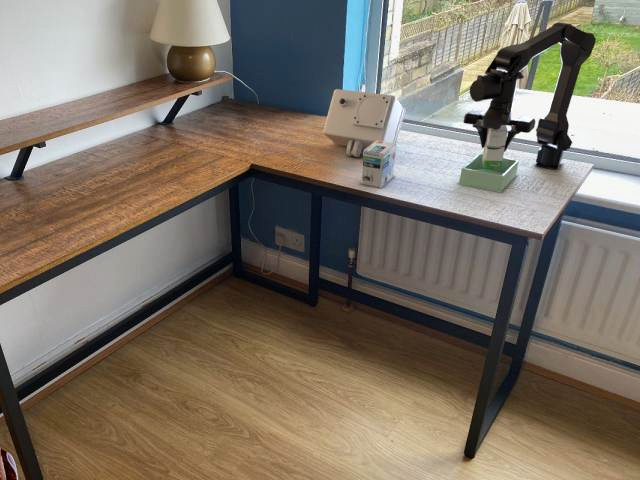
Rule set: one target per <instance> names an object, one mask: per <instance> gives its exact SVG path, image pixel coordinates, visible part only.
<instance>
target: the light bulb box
mask: <svg viewBox="0 0 640 480" xmlns="http://www.w3.org/2000/svg"><path fill="white" fill-rule="evenodd" d="M362 150H363V151H362V152H363V153H362V166H361V169H362V170H361V185H367V186H371V187H376V188H380V189H381V188H383V187H384V186H385V185H386V184H387V183H388V182H389V181H391V180H392V179H393V178H394V176H395V175H394V174H395V163H396V153H397V152H396V151H397V143H396V144H395V143H389V142H383V141H378V140H377V141H375V142H374V143H373V144H371V145H370V146H369V147H367V148H366V149H365V150H364V149H362Z"/></svg>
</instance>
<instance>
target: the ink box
mask: <svg viewBox="0 0 640 480" xmlns="http://www.w3.org/2000/svg"><path fill="white" fill-rule="evenodd" d="M508 131H509V129H508V128H507V125H501V127H500V129H498V130H494V129H492V128H488V129H487V136H486V143H485V146H484V148H483V152H482V154H483V157H482V161H483V166H484V169H494V170H501V165H502V160H503V158H504V153H505V152H504V149H505V143H506V139H507V136H508Z"/></svg>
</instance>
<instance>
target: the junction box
mask: <svg viewBox="0 0 640 480" xmlns="http://www.w3.org/2000/svg"><path fill="white" fill-rule="evenodd" d="M405 114H406V109H405V107H404V106H403V105H402V104H401V103H400V101H399V100H398V98H397V97H396V95H391V94H385V93H384V94H383V93H375V92H374V93H373V92H364V91H357V90H347V89H340V88H336V89H334V91H333V93H332V97H331V101H330V105H329V108H328V111H327V115H326V119H325V123H324V127H323V130H322V133H323V135H324V136H326V137H327V138H328V139H329V140H330V141H332V143H333V144H334V145H335V146H339V147H340V146H341V147H346V155H347V156H348V157H354V158H359V157H360V156H361V155H362V150H365V149H366V148H367V147H369V146H370V145H371V144H373V143H374V142H375V141H377V140H378V141H383V142H389V143H395V144H396V145H397V143H398V140H399V139H398V138H399V135H400V131H401V128H402V125H403V121H404V117H405Z"/></svg>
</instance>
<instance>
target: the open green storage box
mask: <svg viewBox="0 0 640 480" xmlns="http://www.w3.org/2000/svg"><path fill="white" fill-rule="evenodd" d="M482 157H483V153H480V152H479V153H477V155H475V156H474V157H473V158H472V159H470V160H469V161H468V162H467V163H466V164H465V165H463V167H461V169H460V176H459V182H458V184H459V185H463V186H468V187H472V188H477V189H480V190H481V189H482V190H487V191H491V192H496V193H501V192H502V191H503V190H504V189H505V188H506V187H507V186H508V185H509V184H510V183H511V181H513V180H514V178H516V176H517V172H518V168H519V163H520V160H519V159H514V158H508V157H503V160H502V165H501V170H494V169H484V166H483V161H482Z"/></svg>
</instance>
